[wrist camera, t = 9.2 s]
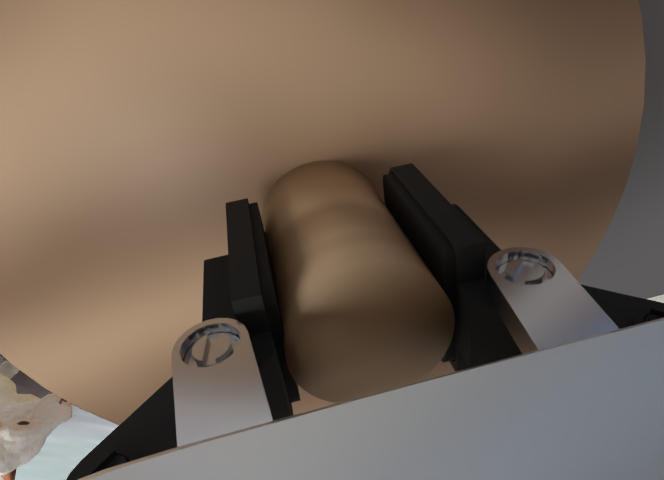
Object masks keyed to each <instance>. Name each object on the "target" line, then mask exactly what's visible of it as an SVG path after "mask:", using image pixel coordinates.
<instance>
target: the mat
mask: <svg viewBox="0 0 664 480" xmlns="http://www.w3.org/2000/svg"><path fill="white" fill-rule="evenodd" d="M638 1H639V6H640V10H641V14H642V25H643V36H644V47H645V58H646V65H645V91H644V107H643V113H642V120H641V126H640V132H639V138H638V144H637V148H636V152H635V156H634V159H633V163H632V166H631V170H630V173H629V177H628V180H627V184H626V187H625V189H624V192H623V194H622V197H621V199H620V202H619V204H618V207H617V209H616V212H615V214H614V217H613V219H612V221H611V223H610V225H609V227H608V229H607V231H606V233H605V235H604V237H603V238H602V240H601V242H600V244H599V246H598V248H597V250H596V252H595V254H594V255H593V257H592V258H591V260H590V261H589V263H588V264H587V266H586V267H585V269H584V270H583V272H582V273H581V275H580V276H579V278H578V280H577V281H578V282H579V283H580V284H581V285H585V286H590V287H594V288H599V289H603V290H608V291H612V292H616V293H621V294H625V295H630V296H634V297H638V298H643V299H647V298H651V297H655V296H659V295H663V294H664V0H638Z"/></svg>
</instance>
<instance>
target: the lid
mask: <svg viewBox="0 0 664 480" xmlns="http://www.w3.org/2000/svg"><path fill="white" fill-rule="evenodd" d="M645 65H646V58H645V47H644V36H643V25H642V14H641V10H640V6H639V1H638V0H0V354H1V355H2V356H4V357H5V358H6V359H7V360H8V361H9V362H10V363H11V364H12V365H14V366H15V367H16V368H18V369H19V370H20V371H22V372H23V373H25V374H26V375H27V376H29V377H30V378H31V379H33V380H34V381H36V382H37V383H38V384H40V385H41V386H43V387H44V388H45V389H47V390H49V391H50V392H52V393H54V394H56V395H57V396H59V397H61V398H63V399H65V400H66V401H68V402H70V403H72V404H73V405H75V406H77V407H79V408H80V409H83V410H85V411H87V412H90V413H92V414H94V415H96V416H99V417H101V418H103V419H106V420H108V421H110V422H113V423H115V424H118V425H120V424H121V423H122V422H124V421H125V420H126V419H127V418H128V417H129V416H130V415H131V414H132V413H133V412H134V411H135V410H136V409H138V408H139V407H140V406H141V405H142V404H143V403H144V402H145V401H146V400H147V399H148V398H149V397H151V396H152V395H153V394H154V393H155V392H156V391H157V390H158V389H159V388H160V387H161V386H162V385H164V384H165V383H166V382H167V381H168V380H169V379H170V378H171V377H172V376H173V375H172V360H171V356H172V349H173V347H174V345H175V343H176V341H177V340H178V338H179V337H180V336H181V335H182V334H183V333H184V332H185V331H187V330H188V329H190V328H191V327H193V326H194V325H196V324H199V323H201V322H202V309H203V272H204V260H206V259H211V258H215V257H219V256H224V255H228V240H227V221H226V203H227V202H232V201H237V200H241V199H246V198H248V201H249V204H250V203H255V202H257V203H258V207H259V211H260V215H261V219H262V223H263V227H264V231H265V236H266V241H267V247H268V252H269V258H270V263H271V268H272V274H273V279H274V284H275V290H276V295H277V300H278V306H279V311H280V316H281V322H282V327H283V333H284V351H285V357H286V362H287V366H288V369H289V372H290V374H291V376H292V377H293V379H294V380H295V382H296V383H297V384H298V389H299V394H300V401H297V402H293V403H292V408H293V414H294V415H296V414H300V413H304V412H307V411H311V410H315V409H318V408H322V407H326V406H329V405H333V404H337V403H340V402H344V401H348V400H351V399H355V398H359V397H363V396H366V395H370V394H374V393H378V392H381V391H385V390H389V389H393V388H396V387H400V386H404V385H407V384H411V383H415V382H419V381H422V380H426V379H430V378H434V377H437V376H441V375H445V374H449V373H453V372H455V370H454V369H453V367H452V365H451V363H450V362H449V361H448V362H445V363H444V362H442V361H441V359H442V358H443V356H444V355H445V353H446V351H447V349H448V347H449V345H450V343H451V340H452V337H453V333H454V326H455V317H454V311H453V307H452V304H451V302H450V300H449V298H448V297H447V295H446V294H445V292H444V291H443V289H442V288H441V286H440V285H439V283H438V282H437V280H436V279H435V277H434V276H433V275H432V273H431V272H430V270H429V269H428V267H427V266H426V264H425V263H424V261H423V260H422V258H421V257H420V255H419V254H418V252H417V251H416V250H415V248H414V247H413V245H412V244H411V242H410V241H409V239H408V238H407V236H406V235H405V233H404V232H403V230H402V229H401V227H400V226H399V225H398V223H397V222H396V220H395V219H394V217H393V216H392V214H391V213H390V211H389V210H388V208H387V207H386V205H385V201H384V189H383V175H385V174H389V170H390V168H391V167H396V166H401V165H405V164H410V163H412V164H414V165H415V167H416V168H417V169H418V170H419V171H420V172H421V173H422V174H423V175H424V176H425V177H426V178H427V179H428V180H429V181H430V183H431V184H432V185H433V186H434V187H435V188H436V189H437V190H438V191H439V192H440V193H441V194H442V195H443V196H444V197H445V198H446V200H447V201H448V202H449V203H450V204H456V205H458V206H459V207H460V208H461V209H462V210H463V211H464V212H465V213H466V214H467V215H468V216H469V217H470V218H471V219H472V220H473V221H474V222H475V224H476V225H477V226H478V227H479V228H480V229H481V230H482V231H483V232H484V233H485V234H486V235H487V236H488V237H489V238H490V239H491V240H492V241H493V242H494V243H495V244H496V245H497V246H498V247H499V248H500V249H501V250H503V249H507V248H513V247H527V248H534V249H538V250H542V251H545V252H547V253H549V254H551V255H553V256H554V257H555V258H557V259H558V260H559V261H560V262H561V263H562V264H563V265H564V266H565V268H566V269H567V270H568V271H569V272H570V273H571V274H572V275H573V277H574V278H575V279H576V280H578V278H579V276H580V275H581V273H582V272H583V270H584V269H585V267H586V266H587V264H588V263H589V261H590V260H591V258H592V257H593V255H594V254H595V252H596V250H597V248H598V246H599V244H600V242H601V240H602V238H603V237H604V235H605V233H606V231H607V229H608V227H609V225H610V223H611V221H612V219H613V217H614V214H615V212H616V209H617V207H618V204H619V202H620V199H621V197H622V194H623V192H624V189H625V187H626V184H627V180H628V177H629V173H630V170H631V166H632V163H633V159H634V156H635V152H636V148H637V144H638V138H639V132H640V126H641V120H642V113H643V107H644V91H645Z"/></svg>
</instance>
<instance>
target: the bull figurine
mask: <svg viewBox="0 0 664 480" xmlns="http://www.w3.org/2000/svg"><path fill="white" fill-rule="evenodd" d="M19 371H20V370H19V369H18V368H16V367H15V366H14V365H12V364H11V363H10V362H9V361H8V360H7V359H5V360H4V362H3V363H2V364H1V365H0V475H1V476H2V478H3V479H4V480H15V474H16V468H17V467H20V466H23V465H24V464H26V463H27V462H29V461H30V460H31V459H32V458H33V457H35V456H36V455H37V454H38V453H39V451H40V450H41V448H42V446H43V444H44V442H45V440H46V438H47V437H48V435H49V434H50V433H51V432H52V431H53V430H54V429H55V428H56V427H57V426H58V425H59V424H61V423H63V422H66V421H68V420H69V419H70V418H71V417H72V407H71V404H70V402H68V401H66V400H65V399H63V398H61V397H59V396H57V395H56V394H54V393H52V394H48V395H46V396H44V397H43V398H42V399H40V398H38V397H36V396H34V395H32V394H18V393H17V390H16V385H15V383H14V382H13V381H11V380H10V379H11V378H12V377H13V376H14V375H15V374H17V373H18V372H19Z"/></svg>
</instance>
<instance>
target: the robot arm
mask: <svg viewBox="0 0 664 480" xmlns="http://www.w3.org/2000/svg"><path fill="white" fill-rule="evenodd" d="M383 189H384V201H385V205H386V207H387V208H388V210H389V211H390V213H391V214H392V216H393V217H394V219H395V220H396V222H397V223H398V225H399V226H400V227H401V229H402V230H403V232H404V233H405V235H406V236H407V238H408V239H409V241H410V242H411V244H412V245H413V247H414V248H415V250H416V251H417V252H418V254H419V255H420V257H421V258H422V260H423V261H424V263H425V264H426V266H427V267H428V269H429V270H430V272H431V273H432V275H433V276H434V277H435V279H436V280H437V282H438V283H439V285H440V286H441V288H442V289H443V291H444V292H445V294H446V295H447V297H448V298H449V300H450V302H451V304H452V307H453V311H454V317H455V326H454V333H453V337H452V340H451V343H450V345H449V347H448V349H447V351H446V353H445V355H444V356H443V358H442V359H441V361H442V362H444V363H445V362H448V361H449V362H450V363H451V365H452V367H453V369H454V370H455V372H453V373H449V374H445V375H441V376H437V377H434V378H430V379H426V380H422V381H419V382H415V383H411V384H407V385H404V386H400V387H396V388H393V389H389V390H385V391H381V392H378V393H374V394H370V395H366V396H363V397H359V398H355V399H351V400H348V401H344V402H340V403H337V404H333V405H329V406H326V407H322V408H318V409H315V410H311V411H307V412H304V413H300V414H296V415H294V414H293V408H292V403H293V402H297V401H300V394H299V389H298V384H297V383H296V382H295V380H294V379H293V377H292V376H291V374H290V372H289V369H288V366H287V362H286V357H285V351H284V333H283V327H282V322H281V316H280V311H279V306H278V300H277V295H276V290H275V284H274V279H273V274H272V268H271V263H270V258H269V252H268V247H267V241H266V236H265V231H264V227H263V223H262V219H261V215H260V211H259V207H258V203H257V202H255V203H250V204H249V201H248V198H246V199H241V200H237V201H232V202H227V203H226V221H227V240H228V255H224V256H219V257H215V258H211V259H206V260H204V272H203V309H202V322H201V323H199V324H196V325H194V326H193V327H191V328H190V329H188V330H187V331H185V332H184V333H183V334H182V335H181V336H180V337H179V338H178V340H177V341H176V343H175V345H174V347H173V349H172V356H171V360H172V375H173V376H172V377H171V378H170V379H169V380H168V381H167V382H166V383H165V384H164V385H162V386H161V387H160V388H159V389H158V390H157V391H156V392H155V393H154V394H153V395H152V396H151V397H149V398H148V399H147V400H146V401H145V402H144V403H143V404H142V405H141V406H140V407H139V408H138V409H136V410H135V411H134V412H133V413H132V414H131V415H130V416H129V417H128V418H127V419H126V420H125V421H124V422H122V423H121V424H120V425H119V426H118V427H117V428H116V429H115V430H114V431H113V432H112V433H111V434H109V435H108V436H107V437H106V438H105V439H104V440H103V441H102V442H101V443H100V444H99V445H98V446H96V447H95V448H94V449H93V450H92V451H91V452H90V453H89V454H88V455H87V456H86V457H85V458H84V459H82V460H81V461H80V463H79V464H78V465H77V466H76V467H75V468H74V469H73V470H72V472H71V473H70V474H69V476H68V478H67V480H664V303H660V302H656V301H652V300H647V299H643V298H638V297H634V296H630V295H625V294H621V293H616V292H612V291H608V290H603V289H599V288H594V287H590V286H585V285H581V284H580V283H579V282H578V281H577V280H576V279H575V278H574V277H573V275H572V274H571V273H570V272H569V271H568V270H567V269H566V268H565V266H564V265H563V264H562V263H561V262H560V261H559V260H558V259H557V258H555V257H554V256H553V255H551V254H549V253H547V252H545V251H542V250H538V249H534V248H527V247H513V248H507V249H503V250H501V249H500V248H499V247H498V246H497V245H496V244H495V243H494V242H493V241H492V240H491V239H490V238H489V237H488V236H487V235H486V234H485V233H484V232H483V231H482V230H481V229H480V228H479V227H478V226H477V225H476V224H475V222H474V221H473V220H472V219H471V218H470V217H469V216H468V215H467V214H466V213H465V212H464V211H463V210H462V209H461V208H460V207H459V206H458V205H456V204H450V203H449V202H448V201H447V200H446V198H445V197H444V196H443V195H442V194H441V193H440V192H439V191H438V190H437V189H436V188H435V187H434V186H433V185H432V184H431V183H430V181H429V180H428V179H427V178H426V177H425V176H424V175H423V174H422V173H421V172H420V171H419V170H418V169H417V168H416V167H415V165H414V164H412V163H410V164H405V165H401V166H396V167H391V168H390V170H389V174H385V175H383Z"/></svg>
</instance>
